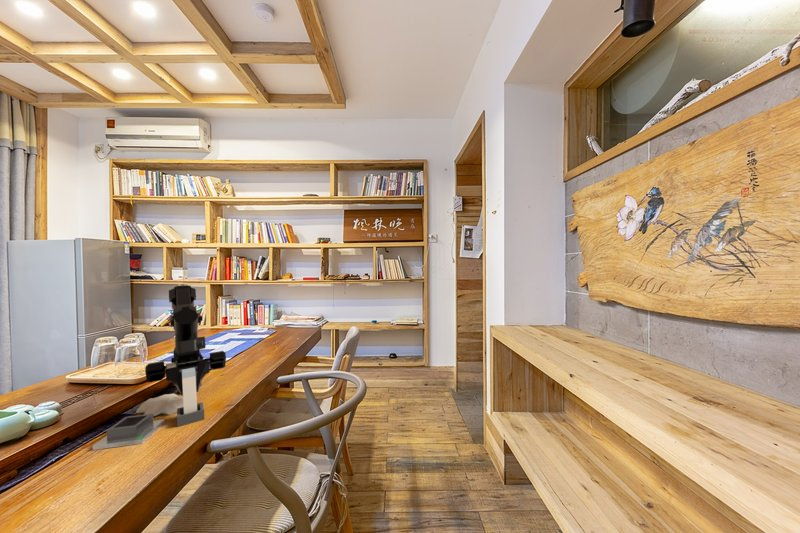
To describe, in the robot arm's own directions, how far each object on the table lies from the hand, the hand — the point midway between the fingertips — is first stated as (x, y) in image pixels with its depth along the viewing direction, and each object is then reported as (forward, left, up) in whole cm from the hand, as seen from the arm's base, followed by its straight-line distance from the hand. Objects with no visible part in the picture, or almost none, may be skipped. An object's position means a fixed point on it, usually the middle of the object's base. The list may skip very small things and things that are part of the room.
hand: (189, 392), depth 84 cm
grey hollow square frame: (-1, 0, -7) cm, 8 cm away
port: (+4, -12, -7) cm, 14 cm away
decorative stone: (-11, -10, -8) cm, 17 cm away
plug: (-1, 0, -7) cm, 7 cm away
